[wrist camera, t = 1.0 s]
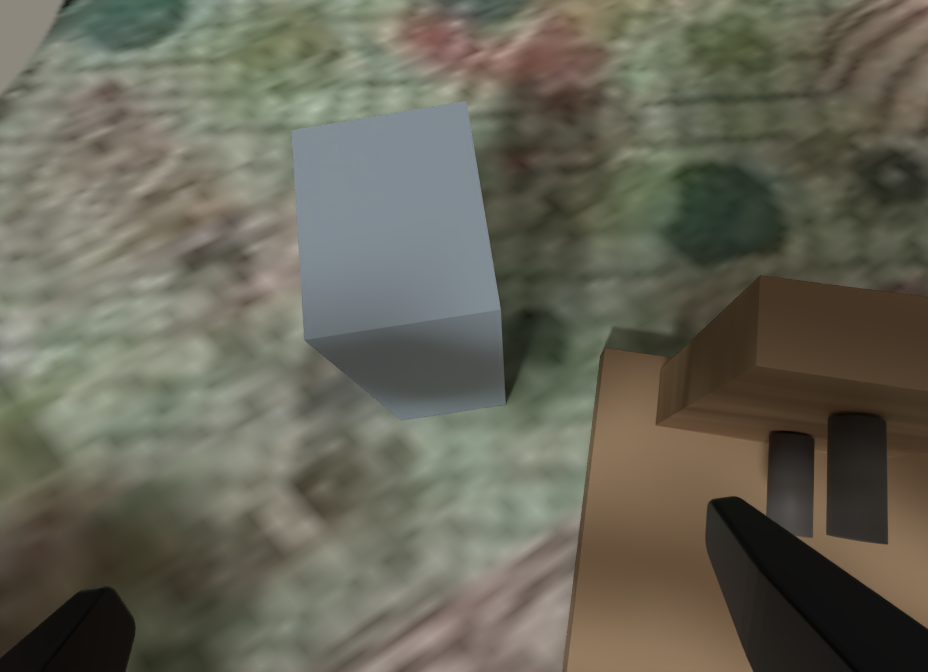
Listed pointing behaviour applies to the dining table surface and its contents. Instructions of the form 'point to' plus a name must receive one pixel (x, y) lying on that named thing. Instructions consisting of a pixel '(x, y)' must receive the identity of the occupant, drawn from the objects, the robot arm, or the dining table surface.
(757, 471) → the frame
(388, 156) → the grey rectangular block
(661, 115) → the dining table surface
